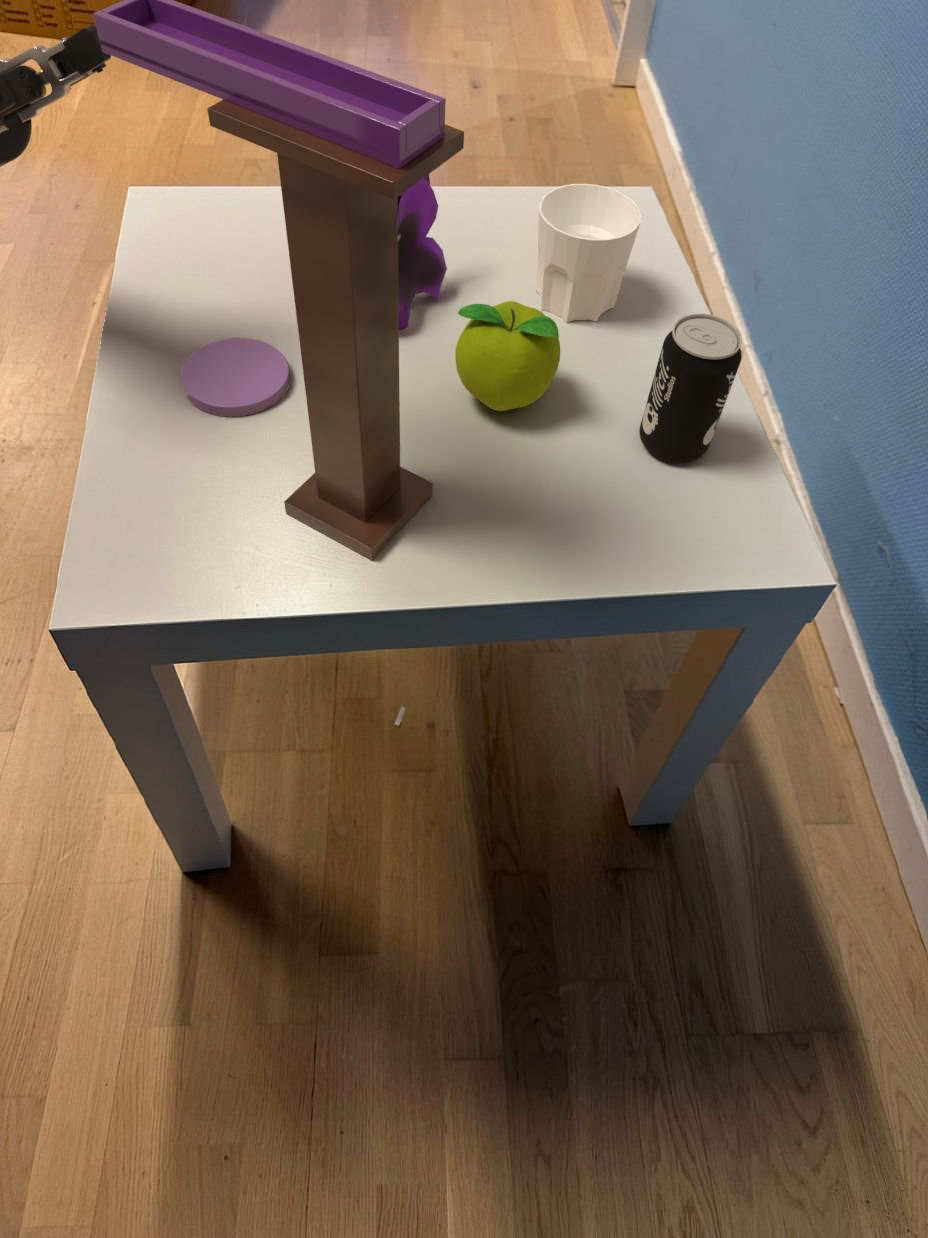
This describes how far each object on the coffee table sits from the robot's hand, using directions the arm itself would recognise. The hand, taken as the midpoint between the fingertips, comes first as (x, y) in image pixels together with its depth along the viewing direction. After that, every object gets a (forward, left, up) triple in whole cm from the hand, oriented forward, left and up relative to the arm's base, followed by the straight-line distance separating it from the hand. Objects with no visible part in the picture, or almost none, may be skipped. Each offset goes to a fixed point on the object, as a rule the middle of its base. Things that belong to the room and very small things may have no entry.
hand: (53, 62), depth 60 cm
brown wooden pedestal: (0, -24, -29) cm, 37 cm away
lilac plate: (+6, -5, -29) cm, 30 cm away
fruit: (+19, -27, -29) cm, 44 cm away
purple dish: (0, -19, +3) cm, 19 cm away
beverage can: (+23, -43, -29) cm, 57 cm away
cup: (+37, -25, -29) cm, 53 cm away
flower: (+25, -7, -29) cm, 39 cm away
